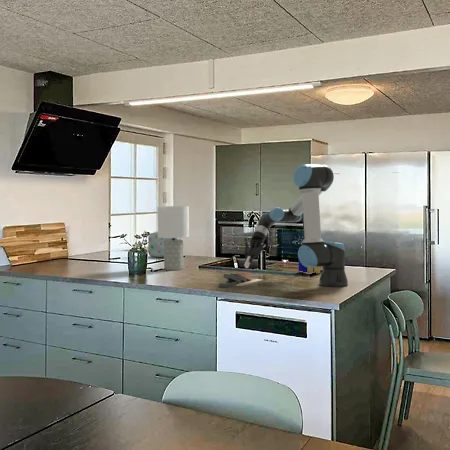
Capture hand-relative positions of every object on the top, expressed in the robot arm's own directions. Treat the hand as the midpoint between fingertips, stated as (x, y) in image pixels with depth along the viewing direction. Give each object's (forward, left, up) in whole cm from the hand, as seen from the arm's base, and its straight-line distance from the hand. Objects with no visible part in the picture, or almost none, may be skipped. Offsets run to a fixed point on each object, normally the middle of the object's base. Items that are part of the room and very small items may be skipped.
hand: (246, 266), depth 296 cm
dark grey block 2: (0, +4, -7) cm, 8 cm away
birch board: (0, +5, -9) cm, 10 cm away
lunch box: (+115, -73, -9) cm, 136 cm away
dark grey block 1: (0, +15, -7) cm, 16 cm away
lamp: (+67, -21, -9) cm, 71 cm away
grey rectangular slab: (0, +10, -7) cm, 12 cm away
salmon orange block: (0, -2, -7) cm, 7 cm away
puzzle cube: (-18, -48, -9) cm, 52 cm away
